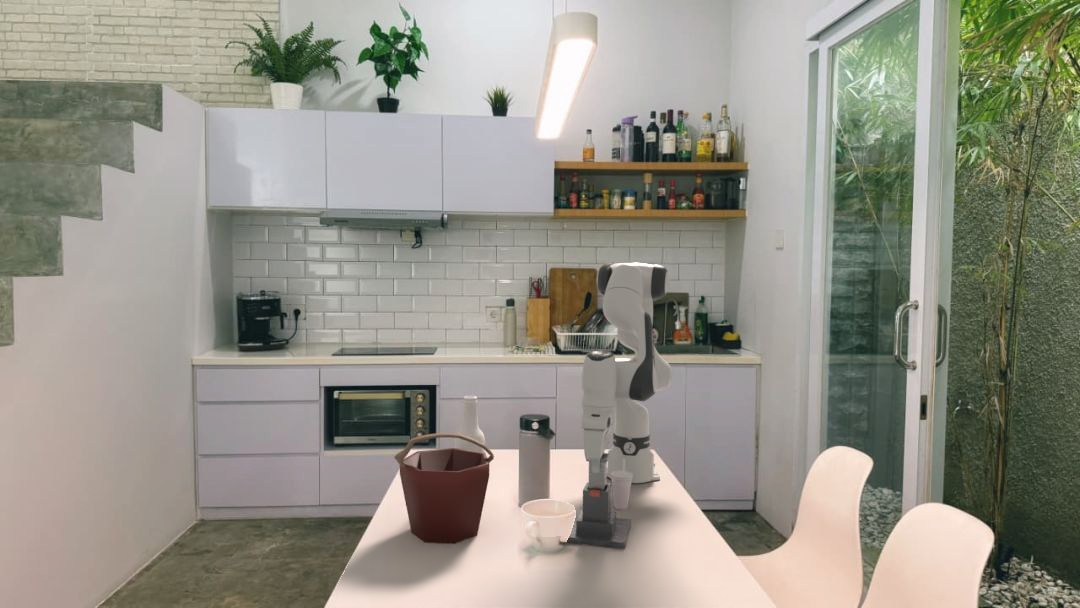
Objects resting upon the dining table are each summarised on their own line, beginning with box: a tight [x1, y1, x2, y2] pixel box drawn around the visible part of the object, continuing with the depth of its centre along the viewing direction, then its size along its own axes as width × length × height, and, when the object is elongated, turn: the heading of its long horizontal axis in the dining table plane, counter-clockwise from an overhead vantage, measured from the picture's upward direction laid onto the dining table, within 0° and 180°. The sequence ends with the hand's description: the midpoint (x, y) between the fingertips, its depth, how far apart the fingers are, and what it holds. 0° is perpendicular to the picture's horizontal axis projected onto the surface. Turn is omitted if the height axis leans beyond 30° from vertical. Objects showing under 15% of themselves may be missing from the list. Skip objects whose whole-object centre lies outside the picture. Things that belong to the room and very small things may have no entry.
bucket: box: [394, 432, 495, 545], centre depth 175 cm, size 24×22×25 cm
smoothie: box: [610, 459, 633, 511], centre depth 194 cm, size 6×6×14 cm
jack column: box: [585, 452, 609, 491], centre depth 175 cm, size 5×5×18 cm
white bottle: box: [454, 395, 486, 453], centre depth 200 cm, size 9×9×30 cm
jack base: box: [566, 481, 632, 550], centre depth 175 cm, size 16×16×12 cm
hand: (597, 468), depth 174 cm, fingers closed on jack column, 4 cm apart
